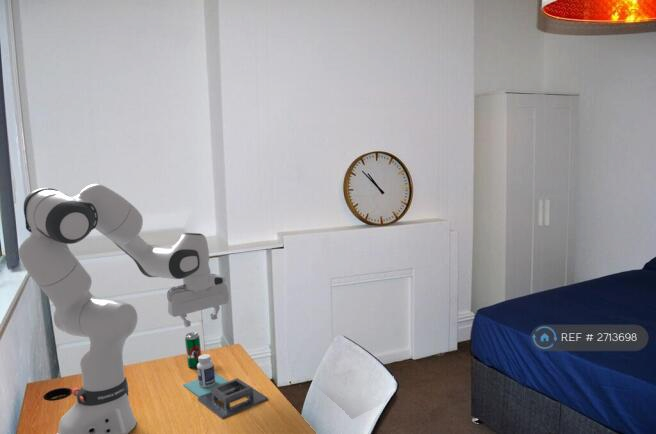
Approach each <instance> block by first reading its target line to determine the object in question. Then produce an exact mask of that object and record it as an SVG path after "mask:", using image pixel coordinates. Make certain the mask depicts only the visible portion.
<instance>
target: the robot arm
mask: <svg viewBox="0 0 656 434" xmlns="http://www.w3.org/2000/svg"><path fill="white" fill-rule="evenodd" d="M23 215H24V220H25V229H26V231H28V232H30V233H31V234H30V235H29V237H27V238H26V239H25V240H23V242H22V243H21V244H20V245H19V249H18V256H19V259H20V261H21V263H22V265H23V266H24V268H25V270H26V272H27V273H28V275H29V276H30V277H31V279H32V280H33V282H35V283H36V284H37V286H38V287H39V288H40V289H41V291H42V292H43V293H44V294H45V295H46V296H47V298H48V299H49V300H50V301H51V303H52V304H53V306H54V308H55V310H54V312H53V313H54V314H53V322H54V325H55V326H56V328H57V329H58V330H60V331H61V332H64V333H66V334H68V335H71V336H74V337H84V338H88V339H89V341H90V344H89V350H88V351H87V352H86V353H85V354H84V355H83V356H82V357H81V359H80V362H79V363H80V364H79V366H80V367H79V368H80V373H81V379H82V386H81V388H78V387H77V386H75V387H73V388H72V389H71V394H72V395H73V396H74V397H76V403H74V404H73V405H72V406H71V408H69V410H67V412H65V414H64V415H63V416H61V418H60V419H59V423H58V424H59V425H58V432H59V433H58V432H57V433H55V434H129V433H130V432H131V431H132V430H133V429H134V428H135V427H136V425H137V418H136V417H135V415H134V412H133V410H132V406H131V404H130V400H129V383H128V380H127V377H126V376H125V369H124V368H125V367H124V360H123V359H124V355H123V353H124V346H125V344H126V341H127V339H128V338H129V337H130V336H131V335H132V334H133V333H134V332H135V329H136V327H137V324H138V313H137V309H135V307H134V306H133V305H131V304H130V303H127V302H125V301H122V300H119V299H111V298H101V297H97V296H96V295H93V294H92V293H91V292H90V289H91V286H92V277H91V275H90V274H89V272H88V271H87V270H86V269H85V267H84V266H83V265H82V264H81V262H80V260H78V258H76V256H75V255H74V253H72V251H71V250H70V248H69V246H68V245H72V244H76V243H79V242H81V241H83V240H84V239H85V238H86V237H88V236H89V234H90V233H91V232H92V231H93V230H94V229H95V230H97V232H99V233H100V234H102V235H103V236H104V237H106V238H107V239H109V240H110V241H111V242H112V243H113V244H115V245H116V246H117V247H118V248H119V249H120V250H121V251H123V252H124V253H125V254H126V255H127V256H128V257H130V258H131V259H132V260H133V261H134V263H135V265H136V266H137V268H138V269H139V271H140V272H141V273H142V275H144V276H145V277H148V278H161V279H162V278H163V279H171V280H182V282H183V283H182V284H181V285H178V286H172V287H170V288H169V289H168V290H167V292H166V297H167V300H168V302H167V311H168V314H169V315H170V316H172V317H174V318H175V317H176V318H177V317H179V318H180V319H181V320H182V322H183V325H184V328H188V327H191V325H192V323H191V321H190V320H189V319H187V317H188V315H187V314H192V313H195V312H199V311H203V310H207V309H211V308H213V312H211V313H210V320H211V321H215V320H218V313H219V312H220V309H221V307H220V306H222V305H227V304H228V302H229V301H230V295H229V289H228V286H227V284H226V278H225V276H223V275H219V274H215V273H211V268H210V265H209V264H210V263H209V262H210V252H209V244H208V240H207V238H206V236H205V235H204V234H202V233H196V232H184V233H182V234H180V238H179V240H178V241H177V242H176V243H175V244H173V245H172V246H159V245H153V244H149V243H147V242H146V240H144V239H143V238H142V237H141V236H139V235H140V233H141V231H142V229H143V225H144V224H143V223H144V221H143V220H144V219H143V215H142V214H141V212H140V211H139V210H138V209H137V208H136V207H135V206H134V205H133V204H131V203H130V202H129V201H128V200H127V199H125V197H123V196H122V195H120V194H119V193H117V192H115V191H114V190H112V189H110V188H108V187H107V186H104V185H102V184H100V183H93V184H90V185H87V186H85V187H84V188H83V189H82V190H80V192H79V193H78V194H77V195H75V196H70V195H68V194H66V193H65V192H61V191H59V190H57V189H54V188H49V187H43V188H38V189H35V190H33V191H30V193H29V194H28V195H27V196H26V198H25V199H24V202H23Z"/></svg>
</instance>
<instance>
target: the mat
mask: <svg viewBox="0 0 656 434" xmlns="http://www.w3.org/2000/svg"><path fill="white" fill-rule="evenodd" d="M214 374H215V384H214V385H213V386H210V387H200V386H199V381H198V378H197V379H194V380H192V381H189V382H186V383H183V384H182V385H183V388H186V389H187V390H189V392H191V393H192V394H193V395H195V396H196V397H197V398H200V397H203V396H205V395H208V394H211V388H213V387H215V386H218V385H221V384H223V383H226V382H229V381H230V380H227V379H226V378H224V377H223V376H222V375H220V374H218V373H217V372H214Z"/></svg>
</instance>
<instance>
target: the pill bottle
mask: <svg viewBox="0 0 656 434" xmlns="http://www.w3.org/2000/svg"><path fill="white" fill-rule="evenodd" d="M198 361H199V363H198V364H197V368H196V370H197V371H196V372H197V379H198V381H199V386H200V387H210V386H213V385H214V384H215V374H214V373H215V367H214V366H215V364H214V362H213V360H212V358H211V355H210V354H208V353H204V354H201V355H200V356H199V357H198Z"/></svg>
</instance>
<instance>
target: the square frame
mask: <svg viewBox="0 0 656 434" xmlns="http://www.w3.org/2000/svg"><path fill="white" fill-rule="evenodd" d="M228 381H229V382H226V383H223V384H221V385H218V386H215V387H213V388H211V394H208V395H205V396H203V397H200V398H199V397H197V401H198V402H199V403H201V404H202V405H203V406H205V407H206V408H207V409H209V410H210V411H211V412H212V413H214V414H215V415H217V416H218V417H219V418H221V420H223V419H225V418H228V417H230V416H233V415H234V414H237V413H240V412H242V411H244V410H247V409H249V408H251V407H253V406H256V405H258V404H261V403H264V402H267V401H269V398H268V396H266V395H264V394H263V393H262V392H259V391H258V390H257V389H255V388H254V387H252V386H250V385H249V384H247V383H246V382H245V381H242V380H241V379H240V378H234V379H231V380H228ZM243 398H247V399H246V400H244V401H242V402H239V403H237V404H235V405H232V406H231V403H233V402H235V401H236V402H237V401H238V400H241V399H243ZM218 400H220V402H222V403H223V404H224V405H223V404H221V403H220V402H219V401H218Z"/></svg>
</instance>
